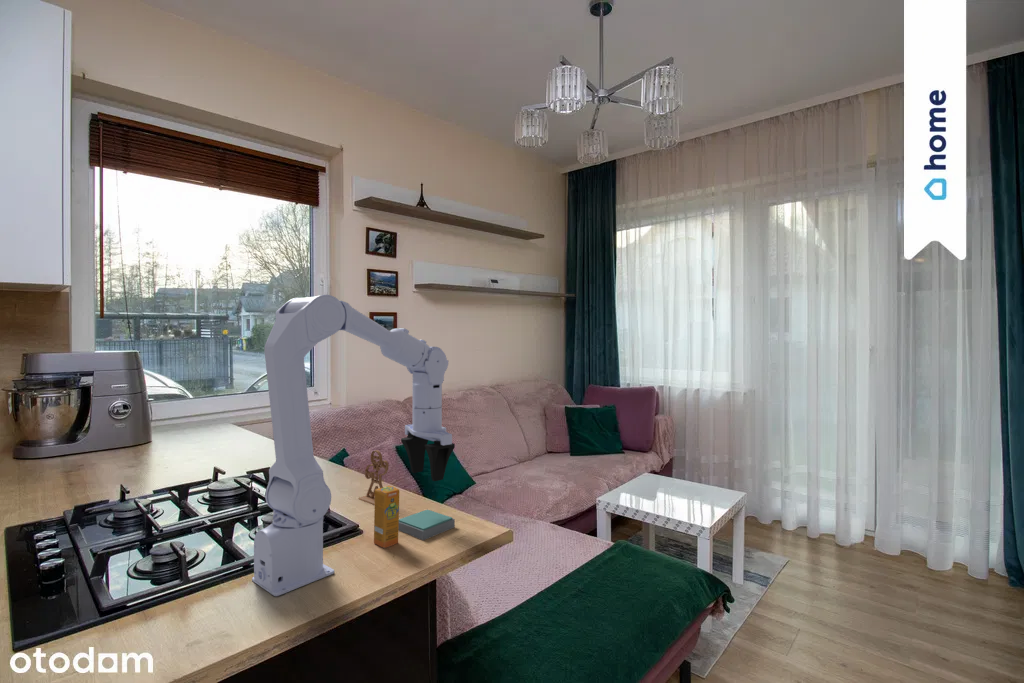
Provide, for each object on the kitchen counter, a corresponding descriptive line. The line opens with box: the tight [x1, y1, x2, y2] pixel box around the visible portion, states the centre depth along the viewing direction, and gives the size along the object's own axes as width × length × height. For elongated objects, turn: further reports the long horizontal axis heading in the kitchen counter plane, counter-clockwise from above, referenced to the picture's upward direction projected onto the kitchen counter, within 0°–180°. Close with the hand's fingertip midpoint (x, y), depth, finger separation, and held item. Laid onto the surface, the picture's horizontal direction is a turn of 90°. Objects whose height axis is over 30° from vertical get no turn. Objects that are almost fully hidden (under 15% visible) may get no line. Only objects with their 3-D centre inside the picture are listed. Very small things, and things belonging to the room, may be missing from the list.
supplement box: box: [373, 485, 400, 549], centre depth 90 cm, size 3×3×10 cm
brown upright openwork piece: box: [358, 449, 390, 506], centre depth 112 cm, size 9×4×12 cm, turn 51°
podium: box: [398, 509, 456, 541], centre depth 97 cm, size 8×8×2 cm
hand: (427, 475), depth 98 cm, fingers open, 7 cm apart
